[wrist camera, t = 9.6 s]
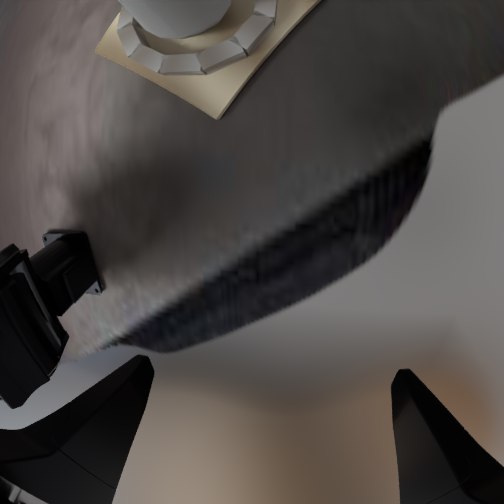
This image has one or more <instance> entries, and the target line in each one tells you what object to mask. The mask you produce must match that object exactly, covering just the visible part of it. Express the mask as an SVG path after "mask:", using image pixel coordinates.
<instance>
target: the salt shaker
mask: <svg viewBox="0 0 504 504" xmlns="http://www.w3.org/2000/svg"><path fill="white" fill-rule="evenodd" d="M118 1H119V2H120V3H121V4H122V5H123V7H124V8H125V9H126V10H127V11H128V12H129V13H130V14H131V15H132V16H133V17H134V18H135V19H136V21H137V22H138V23H139V24H140V25H141V26H142V27H143V28H144V29H145V30H146V31H148V32H150V33H152V34H154V35H156V36H158V37H160V38H168V39H186V38H191V37H194V36H196V35H198V34H200V33H203V32H204V31H206V30H208V29H210V28H212V27H214V26H216V25H218V24H219V22H220V21H221V19H222V17H223V16H224V14H225V13H226V11H227V9H228V8H229V6H230V5H231V0H118Z"/></svg>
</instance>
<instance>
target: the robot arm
mask: <svg viewBox="0 0 504 504" xmlns="http://www.w3.org/2000/svg"><path fill="white" fill-rule="evenodd" d="M81 236H82V237H81ZM42 238H43V242H44V245H45V247H44V248H43V249H41V250H40V251H39V252H37V253H36V254H34V255H33V256H32V257H30V258H29V257H28V255H29V254H28V252H27V249H24V250H19V248H17V247H16V246H15V245H14V244H10V245H9V246H7V247H6V248H4V249H3V250H1V251H0V400H4V402H5V403H6V404H7V405H8V406H9V407H10V408H12V409H14V408H17V407H20V406H22V405H23V404H24V403H25V402H26V400H27V399H28V398H29V396H30V395H31V394H32V393H33V392H34V391H35V390H36V389H37V388H39V387H40V386H41V385H43V384H45V383H46V382H48V381H49V380H50V377H51V376H52V374H53V373H54V372H55V370H56V368H57V366H58V364H59V362H60V358H61V356H62V353H63V351H64V348H65V346H66V343H67V341H68V339H69V335H68V333H67V331H65V330H64V328H63V326H62V325H61V323H60V321H59V319H58V318H57V317H58V316H62V315H63V314H64V313H65V312H66V311H67V310H68V309H69V308H70V307H71V306H72V304H73V303H76V302H77V301H78V300H79V299H80V298H81V297H82V296H83V295H84V293H87V294H94V295H100V294H101V293H102V292H103V289H102V286H101V283H100V280H99V277H98V274H97V270H96V267H95V264H94V260H93V257H92V253H91V250H90V246H89V242H88V238H87V235H86V234H85V232H82V231H80V232H56V233H45V234H44V235H43V237H42ZM82 238H83V239H82ZM153 378H154V368H153V366H152V364H151V361H150V359H149V357H148V356H145V355H140V354H139V355H136V356H135V357H133V358H132V359H130V360H129V361H128V362H126V363H125V364H123V365H122V366H121V367H119V368H118V369H116V370H115V371H114V372H112V373H111V374H109V375H108V376H106V377H105V378H104V379H102V380H101V381H99V382H98V383H96V384H95V385H94V386H92V387H91V388H89V389H88V390H86V391H85V392H83V393H82V394H80V395H79V396H78V397H76V398H75V399H73V400H72V401H71V402H69V403H67V404H66V405H64V406H63V407H62V408H60V409H58V410H57V411H55V412H54V413H52V414H50V415H48V416H46V417H45V418H43V419H41V420H39V421H37V422H35V423H33V424H31V425H29V426H27V427H25V428H22V429H18V430H7V429H0V504H112V501H113V498H114V495H115V492H116V488H117V486H118V483H119V480H120V477H121V474H122V471H123V468H124V465H125V462H126V460H127V457H128V454H129V451H130V448H131V445H132V443H133V440H134V437H135V435H136V432H137V429H138V427H139V424H140V421H141V419H142V416H143V414H144V411H145V408H146V404H147V401H148V397H149V393H150V389H151V385H152V381H153ZM391 398H392V420H393V430H394V438H395V446H396V454H397V464H398V474H399V489H400V504H504V467H503V466H502V465H501V464H500V463H499V462H498V461H496V460H495V459H494V458H493V457H492V456H491V455H490V454H489V453H488V452H486V450H484V449H483V448H482V447H481V446H480V445H479V444H478V443H477V442H476V441H475V439H474V438H473V437H472V436H471V435H470V434H469V433H468V432H467V431H466V430H464V427H463V426H462V425H461V424H460V423H459V422H458V421H457V420H456V418H455V417H454V416H453V415H452V414H451V413H450V412H449V410H447V408H445V406H444V405H443V404H442V403H441V402H440V401H439V400H438V398H437V397H436V396H435V395H434V394H433V393H432V392H431V391H430V390H429V389H428V388H427V387H426V385H425V384H424V383H423V382H422V381H421V380H420V379H419V378H418V377H417V376H416V375H415V374H414V373H413V372H412V371H411V370H410V369H400V370H398V372H397V374H396V376H395V378H394V380H393V382H392V384H391Z"/></svg>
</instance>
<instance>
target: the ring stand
mask: <svg viewBox="0 0 504 504" xmlns="http://www.w3.org/2000/svg"><path fill="white" fill-rule="evenodd" d="M320 1H321V0H231V5H230V6H229V8H228V9H227V11H226V13H225V14H224V16H223V17H222V19H221V21H220V22H219V24H218V25H216V26H214V27H212V28H210V29H208V30H206V31H204V32H203V33H200V34H198V35H196V36H194V37H191V38H186V39H168V38H160V37H158V36H156V35H154V34H152V33H150V32H148V31H146V30H145V29H144V28H143V27H142V26H141V25H140V24H139V23H138V22H137V21H136V19H135V18H134V17H133V16H132V15H131V14H130V13H129V12H128V11H127V10H126V9H125V8H124V7H123V5H122V7H121V11H120V13H119V14H118V16H117V17H116V18H115V20H114V21H113V23H112V24H111V26H110V27H109V29H108V30H107V32H106V33H105V35H104V36H103V38H102V39H101V41H100V43H99V44H98V46H97V48H96V49H95V51H94V52H95V53H97V54H99V55H101V56H103V57H105V58H108V59H110V60H112V61H114V62H116V63H118V64H120V65H122V66H124V67H126V68H128V69H130V70H132V71H134V72H136V73H138V74H139V75H141V76H143V77H145V78H147V79H149V80H151V81H153V82H154V83H156V84H158V85H160V86H161V87H163V88H165V89H167V90H169V91H170V92H172V93H174V94H175V95H177V96H179V97H181V98H182V99H184V100H186V101H187V102H189V103H191V104H192V105H194V106H195V107H197V108H199V109H200V110H202V111H203V112H205V113H207V114H208V115H210V116H211V117H213V118H214V119H216V120H219V119H220V118H221V116H222V115H223V114H224V112H225V111H226V109H227V108H228V107H229V105H230V104H231V103H232V101H233V100H234V99H235V97H236V96H237V95H238V93H239V92H240V91H241V89H242V88H243V87H244V86H245V84H246V83H247V82H248V81H249V79H250V78H251V77H252V76H253V74H254V73H255V72H256V71H257V69H258V68H259V67H260V66H261V65H262V63H263V62H264V61H265V60H266V59H267V57H268V56H269V55H270V54H271V53H272V52H273V50H274V49H275V48H276V47H277V46H278V45H279V44H280V42H281V41H282V40H283V39H284V38H285V37H286V36H287V35H288V34H289V33H290V31H291V30H292V29H293V28H294V27H295V26H296V25H297V24H298V23H299V22H300V21H301V20H302V19H303V18H304V17H305V16H306V15H307V14H308V13H309V12H310V11H311V10H312V9H313V8H314V7H315V6H316V5H317V4H318V3H319V2H320Z"/></svg>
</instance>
